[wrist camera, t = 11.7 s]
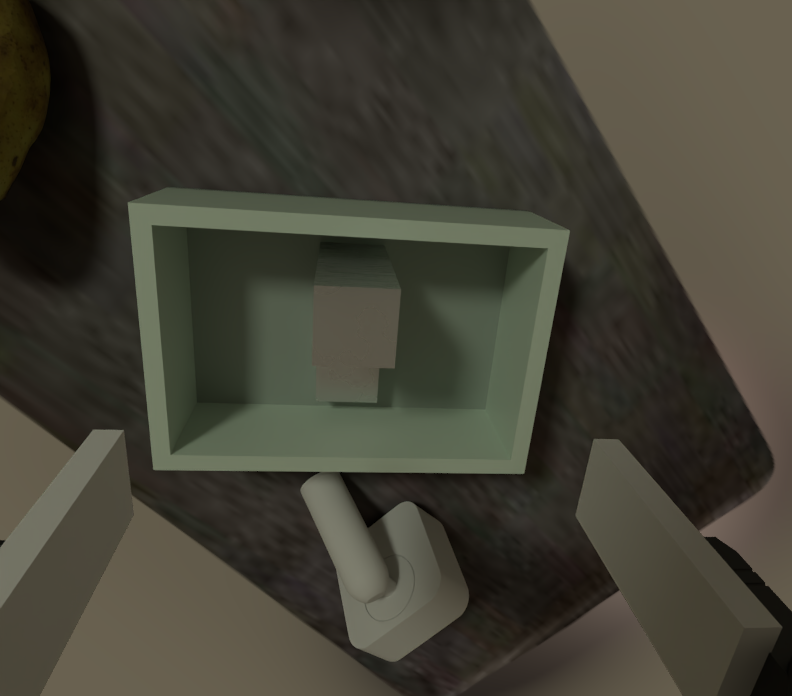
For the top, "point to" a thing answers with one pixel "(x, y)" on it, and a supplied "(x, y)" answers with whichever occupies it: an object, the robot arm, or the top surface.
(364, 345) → the grey l-shaped block
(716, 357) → the top surface
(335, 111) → the top surface
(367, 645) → the wall hook
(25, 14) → the potato
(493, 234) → the open box
